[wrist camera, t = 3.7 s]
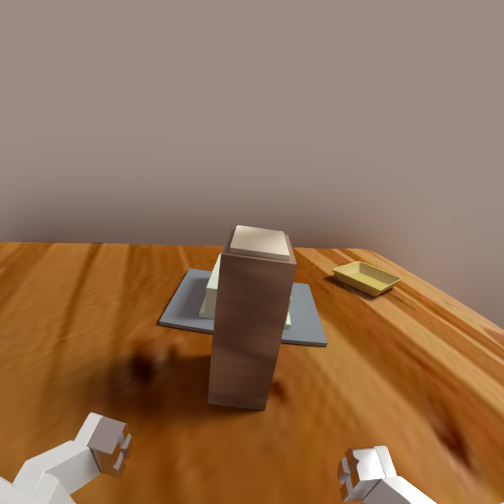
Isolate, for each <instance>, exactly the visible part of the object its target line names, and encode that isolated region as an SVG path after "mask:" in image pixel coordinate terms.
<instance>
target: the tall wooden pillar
mask: <svg viewBox="0 0 504 504" xmlns="http://www.w3.org/2000/svg"><path fill="white" fill-rule="evenodd" d="M296 266H297V263H296V260H295V257H294V253H293V250H292V247H291V244H290V241H289V237H288V235H284V233H283V232H282V231H275V230H268V229H261V228H254V227H246V226H238V225H237V227H236V228H231V230H230V232H229V235H228V238H227V240H226V242H225V245H224V248H223V250H222V253H221V258H220V268H219V277H218V287H217V297H216V308H215V318H214V329H213V340H212V352H211V364H210V377H209V390H208V403H209V404H215V405H222V406H229V407H237V408H246V409H255V410H265V407H266V403H267V399H268V395H269V391H270V387H271V383H272V378H273V374H274V370H275V366H276V361H277V357H278V353H279V348H280V344H281V339H282V335H283V330H284V325H285V321H286V316H287V311H288V306H289V302H290V297H291V292H292V287H293V282H294V277H295V272H296Z"/></svg>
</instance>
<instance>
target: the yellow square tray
mask: <svg viewBox="0 0 504 504" xmlns="http://www.w3.org/2000/svg"><path fill="white" fill-rule="evenodd" d="M332 270H333V272H334V274H335V276H336V277H337V279H338V280H339V281H341V282H343V283H345V284H347V285H350V286H352V287H354V288H356V289H358V290H361V291H363V292H365V293H367V294H369V295H371V296H374V297H376V296H377V295H379V294H381V293H383V292H385V291H387V290H388V289H390V288H392V287H393V286H395V285H396V284H398V283H399V282H400V281H401V280H402V278H400V277H398V276H396V275H393V274H391V273H389V272H386V271H384V270H381V269H379V268H376V267H374V266H371V265H369V264H366V263H364V262H360V261H357V262H354V263H350V264H347V265H343V266H340V267H336V268H333V269H332Z"/></svg>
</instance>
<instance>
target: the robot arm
mask: <svg viewBox="0 0 504 504" xmlns="http://www.w3.org/2000/svg"><path fill="white" fill-rule="evenodd" d="M129 431H130V427H129V424H127V423H124V422H120V421H117V420H114V419H111V418H107V417H104V416H102V415H99V414H95V413H92V412H91V413H90V414H89V415H88V417H87V418H86V420H85V422H84V424H83V425H82V427H81V429H80V431H79V432H78V434H77V436H76V438H75V440H74V441H71V440H70V441H68V442H66V443H64V444H62V445H60V446H57V447H55V448H53V449H51V450H49V451H47V452H45V453H43V454H40V455H38V456H36V457H34V458H32V459H29V460H27V461H26V462H25V463H24V465H23V467H22V468H21V470H20V472H19V473H18V475H17V477H16V478H15V480H14V482H13V484H12V483H10V482H8V481H7V480H5V479H4V478H2V477H1V476H0V504H76V503H75V502H74V501H73V499H72V498H71V497H70V494H72V493H73V492H75V491H76V490H78V489H79V488H81V487H82V486H84V485H85V484H87V483H88V482H89V481H91V480H92V479H94V478H95V477H97V476H98V475H99V474H101V473H104V474H107V475H110V476H114V477H117V478H121V477H122V475H123V472H124V470H125V467H126V465H125V461H124V460H125V459H127V458H129V456H130V453H131V450H132V436H131V435H130V434H129ZM345 455H346V457H345V458H343V459H341V461H340V463H339V465H338V480H339V481H340V482H341V483H342V484H343V485H342V487H341V488H340V491H341V497H342V502H350V501H361V500H363V501H362V502H363V503H364V504H436V503H435V502H434V501H432V500H431V499H430V498H428V497H427V496H426V495H424V494H423V493H422V492H420V491H419V490H418V489H416V488H415V487H414V486H412V485H411V484H410V483H409V482H407V481H406V480H405V479H403V478H402V477H401V476H397V475H396V472H395V469H394V466H393V463H392V460H391V457H390V454H389V452H388V449H387V447H386V446H375V447H372V446H371V447H359V448H349V449H348V450H347V451H346V453H345ZM100 472H101V473H100ZM500 504H504V502H503V503H500Z"/></svg>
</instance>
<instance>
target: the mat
mask: <svg viewBox="0 0 504 504" xmlns="http://www.w3.org/2000/svg"><path fill="white" fill-rule="evenodd" d="M211 275H212V272H211V271H204V270H197V269H189V271H188V272H187V274H186V276H185V278H184V279H183V281H182V283H181V284H180V286H179V288H178V290H177V291H176V293H175V295H174V296H173V298H172V300H171V302H170V303H169V305H168V307H167V309H166V310H165V312H164V314H163V316H162V317H161V319H160V321H159V325H164V326H169V327H175V328H180V329H186V330H192V331H198V332H205V333H211V334H213V329H214V319H209V318H203V317H199V312H200V310H201V307H202V304H203V302H204V299H205V296H206V287H207V285H208V282H209V280H210V277H211ZM289 315H290V322H291V327H290V329H286V328H284V330H283V335H282V339H281V343H291V344H301V345H313V346H325V347H326V346H327V340H326V337H325V334H324V331H323V328H322V325H321V322H320V319H319V315H318V312H317V309H316V306H315V303H314V300H313V297H312V294H311V291H310V288H309V285H308V284H300V283H293V287H292V292H291V303H290V307H289Z"/></svg>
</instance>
